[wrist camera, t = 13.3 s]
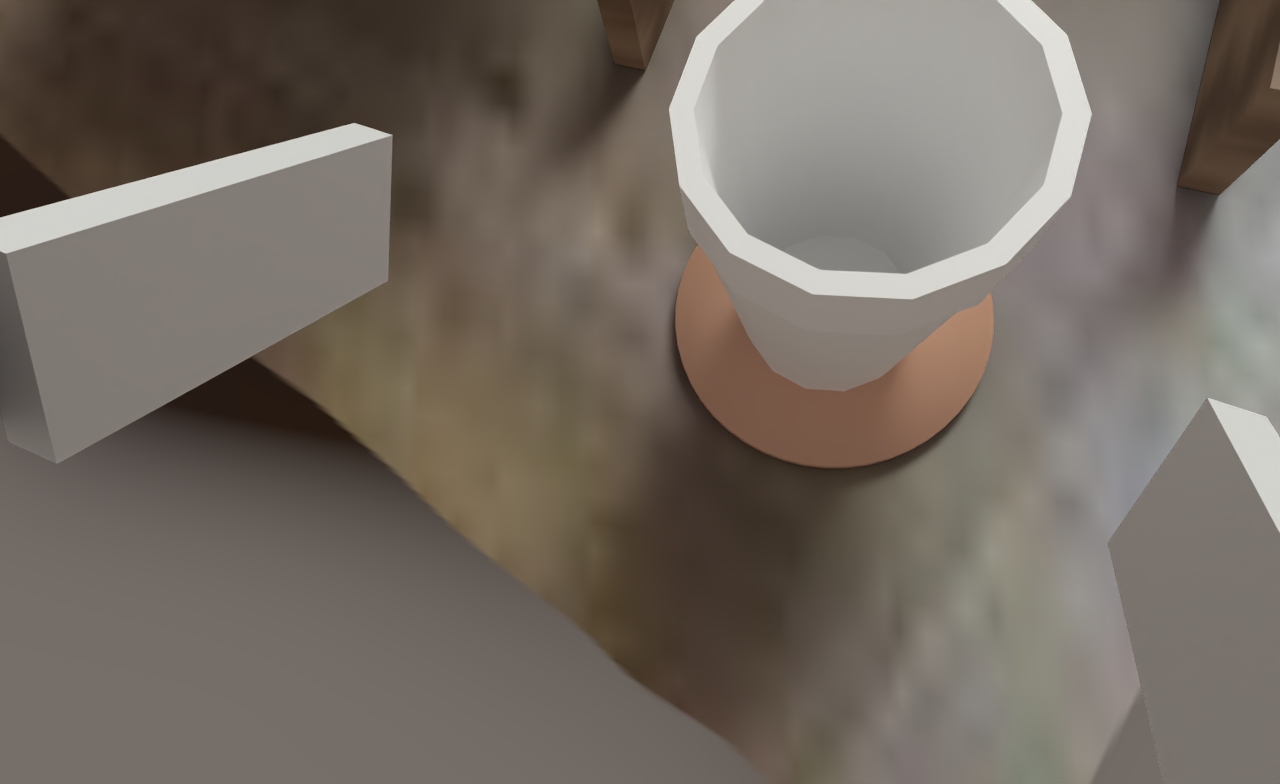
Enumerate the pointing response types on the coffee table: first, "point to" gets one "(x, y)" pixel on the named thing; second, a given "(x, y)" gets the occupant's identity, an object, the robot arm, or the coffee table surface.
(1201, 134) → the wooden tray
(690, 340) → the terracotta pad
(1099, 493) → the coffee table surface
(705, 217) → the foam cup
